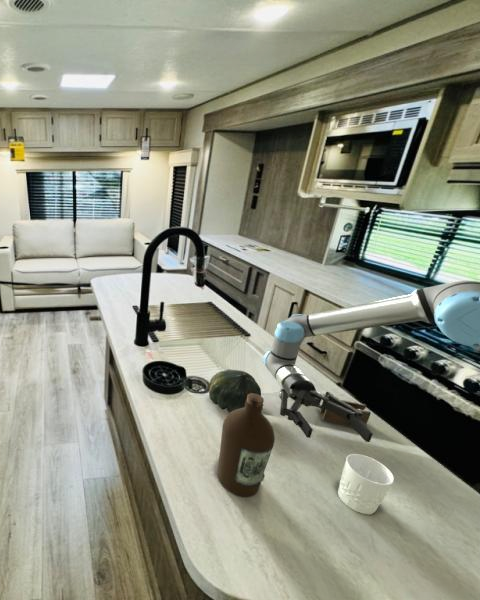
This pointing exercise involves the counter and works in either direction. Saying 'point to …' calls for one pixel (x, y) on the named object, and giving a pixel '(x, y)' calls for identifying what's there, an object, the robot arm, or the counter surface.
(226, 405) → the squash
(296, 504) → the counter surface
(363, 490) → the white cup
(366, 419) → the holder
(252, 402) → the olive oil
